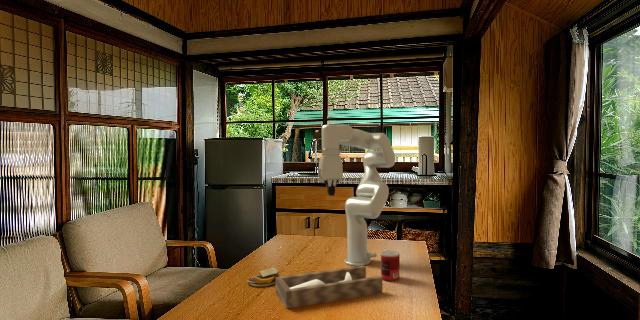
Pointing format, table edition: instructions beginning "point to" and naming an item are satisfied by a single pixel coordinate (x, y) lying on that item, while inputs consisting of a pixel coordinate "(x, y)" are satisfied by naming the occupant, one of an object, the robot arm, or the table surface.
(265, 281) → the toy sandwich meal
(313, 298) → the walnut U-rest
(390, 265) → the canned food
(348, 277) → the champagne flute
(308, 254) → the table surface
